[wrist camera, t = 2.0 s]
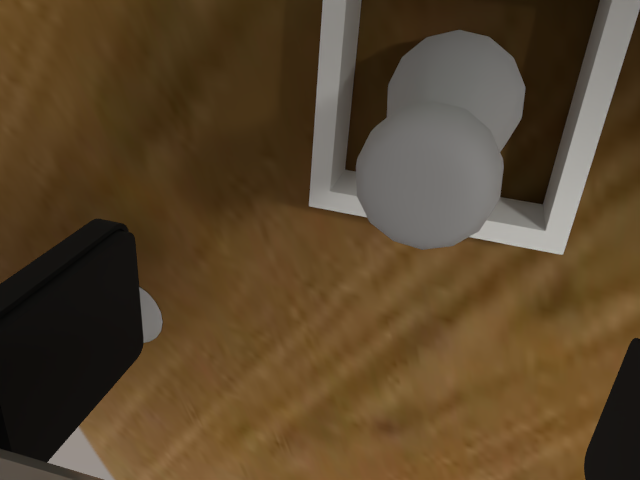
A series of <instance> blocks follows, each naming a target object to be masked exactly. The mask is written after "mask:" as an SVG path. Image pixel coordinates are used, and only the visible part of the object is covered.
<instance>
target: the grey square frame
mask: <svg viewBox="0 0 640 480" xmlns="http://www.w3.org/2000/svg"><path fill="white" fill-rule="evenodd" d="M361 2H362V0H323V5H322V20H321V35H320V49H319V64H318V79H317V94H316V108H315V123H314V138H313V152H312V167H311V182H310V196H309V206H310V207H315V208H321V209H326V210H331V211H336V212H342V213H347V214H352V215H357V216H362V217H367V216H366V214H365V212H364V210H363V208H362V206H361V204H360V201H359V199H358V197H357V187H356V172H355V171H350V170H345V166H346V155H347V145H348V135H349V125H350V114H351V104H352V94H353V84H354V74H355V63H356V53H357V43H358V33H359V22H360V12H361ZM639 10H640V0H600V2H599V6H598V9H597V13H596V16H595V20H594V23H593V27H592V31H591V34H590V38H589V41H588V45H587V49H586V52H585V56H584V59H583V63H582V66H581V70H580V74H579V77H578V81H577V84H576V88H575V91H574V95H573V99H572V102H571V106H570V109H569V113H568V116H567V120H566V124H565V127H564V131H563V134H562V138H561V142H560V145H559V149H558V152H557V156H556V159H555V163H554V167H553V170H552V174H551V177H550V181H549V184H548V188H547V192H546V195H545V199H544V202H543V204H537V203H532V202H526V201H520V200H515V199H509V198H503V197H500V199H499V201H498V203H497V204H496V206H495V208H494V209H493V211H492V212H491V214H490V215H489V217H488V218H487V220H486V221H485V223H484V224H483V226H482V228H481V229H480V231H478V232H477V233H475V234H473V235H471V236H470V237H472V238H477V239H482V240H487V241H493V242H498V243H503V244H508V245H513V246H519V247H524V248H529V249H534V250H540V251H545V252H550V253H555V254H560V255H563V253H564V250H565V247H566V244H567V240H568V237H569V234H570V231H571V228H572V224H573V221H574V218H575V215H576V212H577V208H578V205H579V202H580V199H581V196H582V192H583V189H584V186H585V183H586V180H587V176H588V173H589V170H590V167H591V163H592V160H593V157H594V154H595V151H596V147H597V144H598V141H599V138H600V135H601V131H602V128H603V125H604V122H605V119H606V115H607V112H608V109H609V106H610V103H611V99H612V96H613V93H614V90H615V87H616V83H617V80H618V77H619V74H620V71H621V67H622V64H623V61H624V58H625V55H626V51H627V48H628V45H629V42H630V38H631V35H632V32H633V29H634V26H635V22H636V19H637V16H638V13H639Z"/></svg>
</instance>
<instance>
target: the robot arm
mask: <svg viewBox="0 0 640 480" xmlns="http://www.w3.org/2000/svg"><path fill="white" fill-rule="evenodd" d="M143 343H144V338H143V326H142V314H141V303H140V291H139V279H138V268H137V256H136V244H135V237H134V235H133V234H132V233H130V232H129V231H128V228H127V227H126V225H124V224H122V223H117V222H112V221H107V220H102V219H94V220H92V221H91V222H89V223H88V224H86V225H85V226H83V227H82V228H80V229H79V230H78V231H76V232H75V233H73V234H72V235H70V236H69V237H67V238H66V239H65V240H63V241H62V242H60V243H59V244H57V245H56V246H55V247H53V248H52V249H50V250H49V251H47V252H46V253H44V254H43V255H42V256H40V257H39V258H37V259H36V260H34V261H33V262H31V263H30V264H29V265H27V266H26V267H24V268H23V269H21V270H20V271H18V272H17V273H16V274H14V275H13V276H11V277H10V278H8V279H7V280H5V281H4V282H3V283H1V284H0V480H103V479H100V478H97V477H93V476H90V475H87V474H83V473H79V472H77V471H73V470H70V469H66V468H63V467H60V466H56V465H53V464H49V463H47V462H48V461H49V459H50V458H51V457H52V456H53V455H54V454H55V453H56V451H57V450H58V449H59V448H60V447H61V446H62V445H63V443H64V442H65V441H66V440H67V439H68V437H69V436H70V435H71V434H72V433H73V432H74V431H75V430H76V428H77V427H78V426H79V425H80V424H81V423H82V421H83V420H84V419H85V418H86V417H87V416H88V415H89V413H90V412H91V411H92V410H93V409H94V408H95V406H96V405H97V404H98V403H99V402H100V401H101V400H102V398H103V397H104V396H105V395H106V394H107V393H108V391H109V390H110V389H111V388H112V387H113V386H114V385H115V383H116V382H117V381H118V380H119V379H120V378H121V376H122V375H123V374H124V373H125V372H126V371H127V370H128V368H129V367H130V366H131V365H132V364H133V363H134V361H135V360H136V359H137V358H138V356H139V355H140V353H141V351H142V348H143ZM584 471H585V479H586V480H640V339H638V338H634V339H633V340H632V341H631V343H630V345H629V347H628V350H627V352H626V355H625V357H624V360H623V362H622V365H621V367H620V370H619V372H618V375H617V377H616V380H615V382H614V384H613V387H612V389H611V392H610V394H609V397H608V399H607V402H606V404H605V407H604V409H603V412H602V414H601V417H600V419H599V422H598V424H597V426H596V429H595V431H594V434H593V436H592V439H591V441H590V444H589V446H588V449H587V452H586V456H585V463H584Z"/></svg>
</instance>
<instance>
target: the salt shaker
mask: <svg viewBox="0 0 640 480" xmlns="http://www.w3.org/2000/svg"><path fill="white" fill-rule="evenodd" d="M525 88H526V87H525V85H524V82H523V80H522V77H521V75H520V72H519V69H518V67H517V64H516V62H515V59H514V58H513V57H512V56H511V55H510V54H509V53H508V52H507V51H505V50H504V49H503V48H502V47H501V46H500V45H498V44H497V43H496V42H495V41H494V40H493V39H491V38H490V37H488V36H484V35H480V34H476V33H471V32H467V31H463V30H456V31H451V32H447V33H443V34H438V35H434V36H430V37H426V38H425V39H424V40H422V41H421V42H420V43H419V44H418V45H416V46H415V47H414V48H413V49H411V50H410V51H409V52H408V53H407V54H405V55H404V56H403V57H402V58H401V60H400V62H399V64H398V66H397V68H396V70H395V72H394V74H393V76H392V78H391V80H390V82H389V84H388V100H387V118H386V119H384V120H383V121H382V122H381V123H379V124H378V125H377V126H376V127H375V128H374V129H373V130H372V131H371V132H370V134H369V136H368V138H367V140H366V142H365V144H364V146H363V148H362V150H361V152H360V154H359V156H358V158H357V163H356V187H357V197H358V199H359V201H360V204H361V206H362V208H363V210H364V212H365V214H366V216H367V218H368V220H369V222H370V223H371V224H373V225H374V226H375V227H376V228H378V229H379V230H380V231H382V232H383V233H384V234H385V235H387V236H388V237H389V238H390V239H392V240H393V241H396V242H399V243H402V244H406V245H409V246H412V247H415V248H419V249H422V250H423V249H432V248H440V247H449V246H454V245H455V244H457V243H459V242H461V241H462V240H464V239H466V238H468V237H470V236H471V235H473V234H475V233H477V232H478V231H480V229H481V228H482V226H483V224H484V223H485V221H486V220H487V218H488V217H489V215H490V214H491V212H492V211H493V209H494V208H495V206H496V204H497V203H498V201H499V199H500V195H501V186H502V177H503V169H504V164H503V158H502V156H501V153H500V152H501V150H502V149H503V147H504V146H505V145H506V143H507V141H508V140H509V138H510V137H511V135H512V133H513V132H514V130H515V129H516V127H517V125H518V124H519V122H520V120H521V119H522V113H523V105H524V96H525Z"/></svg>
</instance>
